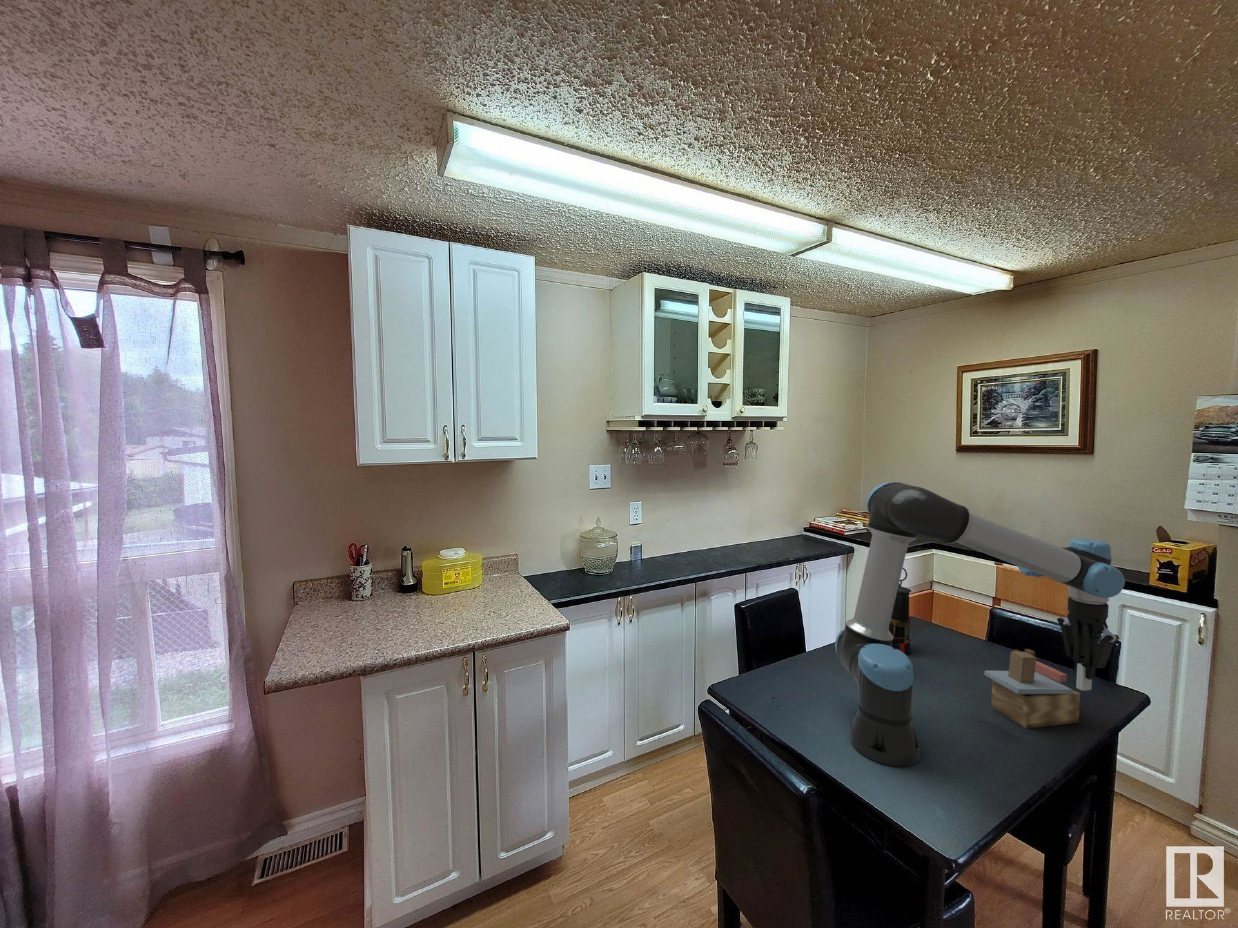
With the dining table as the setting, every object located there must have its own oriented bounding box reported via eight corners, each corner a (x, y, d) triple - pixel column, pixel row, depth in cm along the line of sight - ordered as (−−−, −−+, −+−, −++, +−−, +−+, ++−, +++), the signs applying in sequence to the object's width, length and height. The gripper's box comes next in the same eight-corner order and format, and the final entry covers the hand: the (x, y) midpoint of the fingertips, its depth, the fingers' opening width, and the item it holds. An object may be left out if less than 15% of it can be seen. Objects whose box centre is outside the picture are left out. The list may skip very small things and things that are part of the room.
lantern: (901, 657, 165) (903, 571, 164) (876, 647, 173) (878, 565, 172) (916, 651, 170) (918, 568, 168) (891, 642, 178) (893, 562, 176)
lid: (1017, 697, 125) (1020, 662, 124) (983, 678, 135) (987, 646, 134) (1071, 697, 127) (1075, 663, 126) (1034, 678, 137) (1038, 647, 136)
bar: (1060, 682, 129) (1060, 675, 129) (1014, 660, 142) (1014, 653, 142) (1066, 681, 130) (1066, 674, 130) (1020, 659, 143) (1020, 653, 142)
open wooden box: (1026, 728, 125) (1027, 698, 125) (991, 706, 135) (992, 679, 135) (1078, 722, 127) (1079, 693, 127) (1040, 701, 137) (1041, 674, 137)
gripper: (1130, 607, 117) (1125, 701, 119) (1073, 590, 130) (1069, 675, 132) (1104, 609, 116) (1099, 703, 118) (1049, 592, 129) (1045, 677, 131)
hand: (1083, 688), depth 125 cm, fingers closed
